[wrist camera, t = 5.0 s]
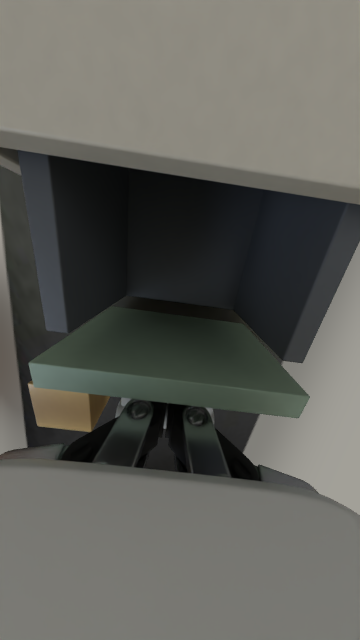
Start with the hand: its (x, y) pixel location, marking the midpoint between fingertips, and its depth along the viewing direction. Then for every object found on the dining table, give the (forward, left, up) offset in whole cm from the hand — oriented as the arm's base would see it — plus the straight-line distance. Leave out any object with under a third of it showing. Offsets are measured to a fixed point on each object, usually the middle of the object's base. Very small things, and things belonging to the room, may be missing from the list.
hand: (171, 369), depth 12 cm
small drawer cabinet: (-16, 0, -4) cm, 17 cm away
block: (+5, -8, -4) cm, 10 cm away
